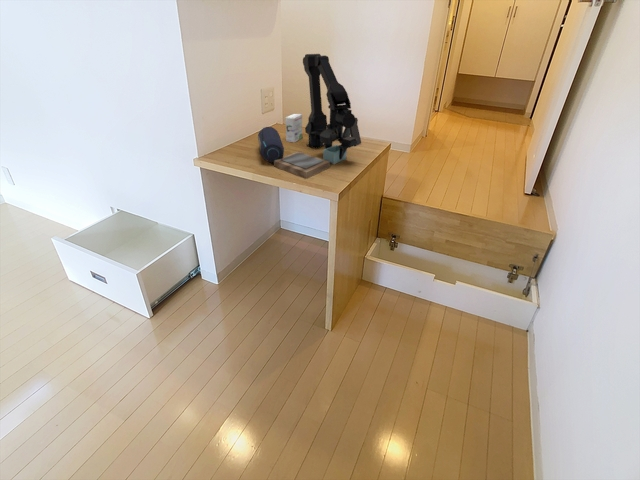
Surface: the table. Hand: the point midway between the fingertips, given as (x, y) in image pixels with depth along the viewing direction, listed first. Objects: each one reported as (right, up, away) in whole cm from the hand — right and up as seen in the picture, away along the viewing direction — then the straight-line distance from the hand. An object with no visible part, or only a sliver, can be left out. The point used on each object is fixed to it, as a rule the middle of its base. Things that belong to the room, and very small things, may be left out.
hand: (334, 157), depth 156 cm
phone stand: (+9, +12, +20) cm, 24 cm away
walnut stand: (-14, -6, -7) cm, 17 cm away
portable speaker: (-28, +2, +3) cm, 28 cm away
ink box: (-19, +14, +23) cm, 33 cm away
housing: (0, -1, +1) cm, 1 cm away
